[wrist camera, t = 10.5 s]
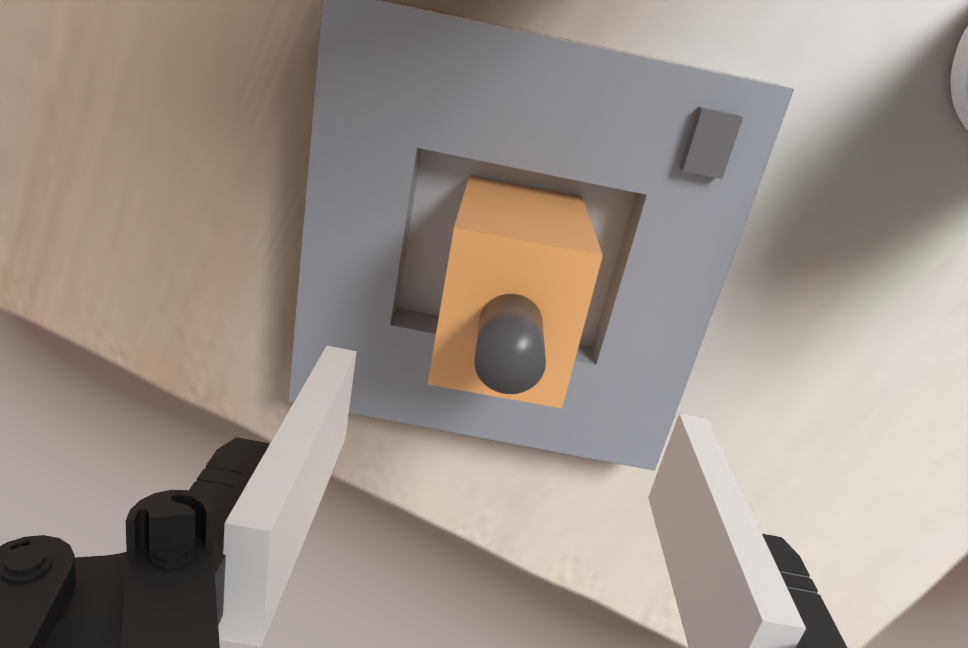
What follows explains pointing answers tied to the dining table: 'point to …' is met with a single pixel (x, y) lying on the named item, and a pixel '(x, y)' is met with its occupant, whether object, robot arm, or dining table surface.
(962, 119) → the pill bottle
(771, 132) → the socket plate
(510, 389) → the plug
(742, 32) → the dining table surface
